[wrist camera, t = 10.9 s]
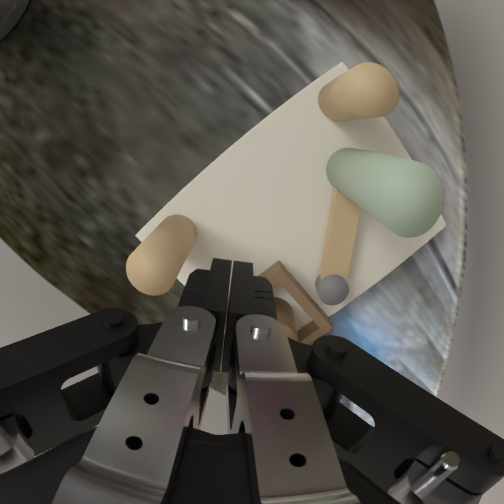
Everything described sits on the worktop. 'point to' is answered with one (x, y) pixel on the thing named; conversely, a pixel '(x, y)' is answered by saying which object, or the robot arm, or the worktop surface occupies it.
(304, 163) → the stool seat
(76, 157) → the worktop surface
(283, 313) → the loose leg
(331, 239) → the hinged leg
